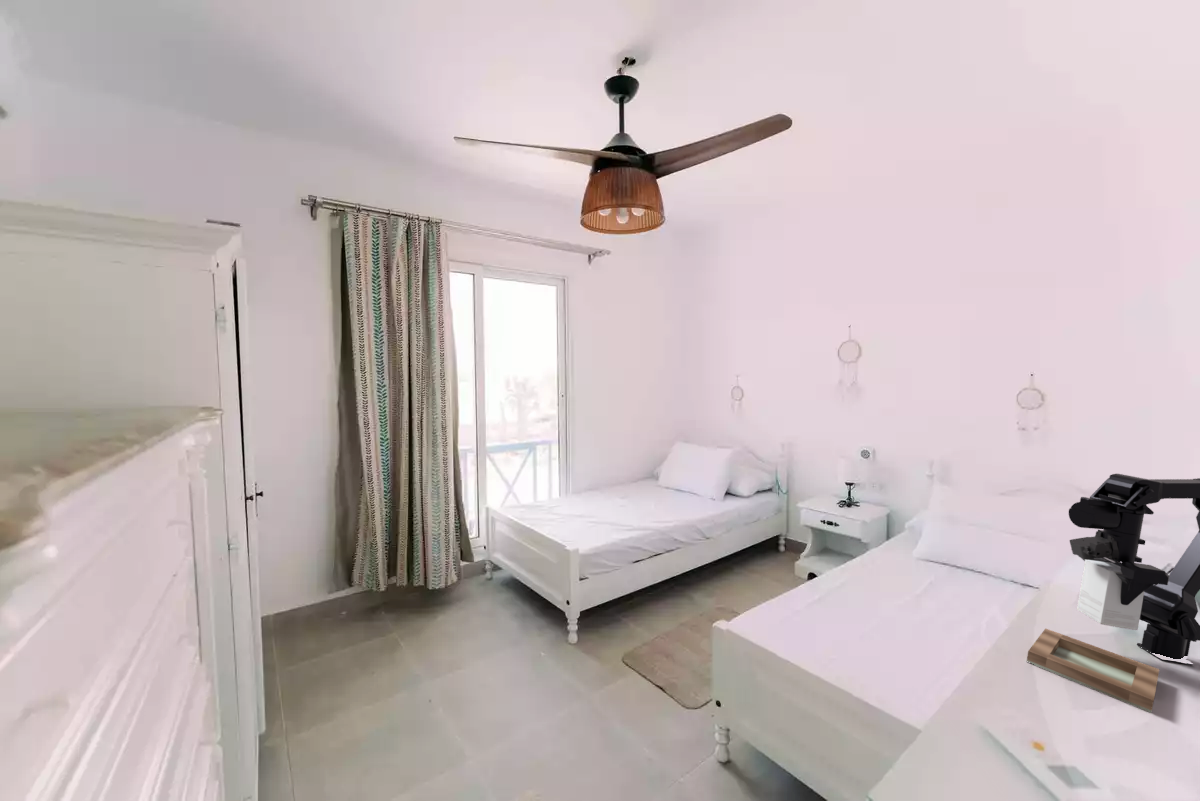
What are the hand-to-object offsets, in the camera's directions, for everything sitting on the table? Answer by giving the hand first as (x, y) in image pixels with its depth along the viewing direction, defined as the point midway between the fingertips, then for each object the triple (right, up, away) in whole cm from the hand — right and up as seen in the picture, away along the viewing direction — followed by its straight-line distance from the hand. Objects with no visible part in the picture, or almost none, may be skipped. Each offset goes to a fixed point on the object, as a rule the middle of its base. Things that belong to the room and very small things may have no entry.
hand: (1110, 596), depth 112 cm
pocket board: (-13, -13, -8) cm, 20 cm away
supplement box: (-1, -6, 0) cm, 6 cm away
